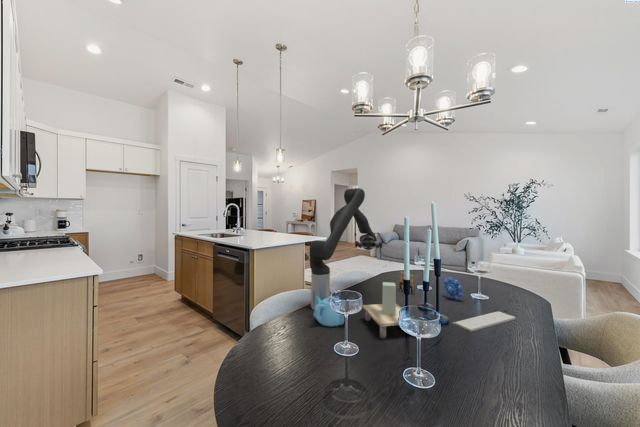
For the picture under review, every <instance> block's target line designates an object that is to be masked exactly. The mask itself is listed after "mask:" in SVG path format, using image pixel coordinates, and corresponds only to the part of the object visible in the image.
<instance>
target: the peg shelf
mask: <svg viewBox="0 0 640 427" xmlns="http://www.w3.org/2000/svg"><path fill="white" fill-rule="evenodd" d="M362 305H363V306H361V308H363V310H364V311H365V315H364V316H365V319H364V320H365V321H366V322H371V321H372V319H373V321H374V322H375V323H376V324H377V325H378V326H379V338H380V339H386V338H387V327H391V326H392V327H394V326H400V325H399V324H398V318H399V311H400V309H401V308H402V307H401V306H400V305H399V304H397V303H396V315H384V314H383V311H382V303H377V304H376V303H375V304H362Z"/></svg>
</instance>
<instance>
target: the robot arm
mask: <svg viewBox="0 0 640 427" xmlns="http://www.w3.org/2000/svg"><path fill="white" fill-rule="evenodd" d="M365 195H366V194H365V190H364V189H362V188H361V187H360V188H357V187H356V188H348V189H346V190H345V191H344V192H343V199H344V202H345V205H343V207H341V208H340V209H338V210H337V211H336V212H335V214H334V215H333V216H332V218H331V219H330V222H329V228H330V229H329V230H330V235H329V236H328V237H327V239H326V240H313V241H312V242H311V244H310V246H309V266H310V267H309V268H310V270H311V271H310V272H311V277H310V278H311V280H310V281H311V286H310V308H311V309H312V310H314V311H315V307H316V305H317V302H316V297H317V296H318V297H320V299H321V301H322V300H324V299H326V298H329V296H331V290H330V289H331V288H330V286H331V284H330V283H331V281H330V280H331V279H330V278H331V269H330V267H329V265H327V264H326V263H325V262H324V261H328V260H330V259H331V258H332V257H333V256H334V254H335V251H336V248H337V247H338V243H339V242H340V240H341V238H342V236H343V234H344V232H345V231H346V229H347V228H348V226H349V224H350V222H351V220H352V218H353V219H354V221H355V223H356V225H357V228H358V231H359V233H360V234H362V235H360V237H359V241H357V240H356V241H355V242H354V243H355V245H354V247H355V248H359V249H364V250H366V251H370V250H373V249H376V250H377V249H379V248H380V249H382V248H383V243H382V241H379V242H377V240H378V239H377V236H376V234H375V233H374V232H373V230H372V228H371V226H370V223H369V219H367V217H366V215H365V214H364V213H363V212H362V211H361V210H360V209H359V208H360V207H361V205H362V204H363V202H364V201H365V198H366V196H365Z"/></svg>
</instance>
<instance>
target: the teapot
mask: <svg viewBox="0 0 640 427" xmlns="http://www.w3.org/2000/svg"><path fill="white" fill-rule="evenodd" d="M331 296H332V295H330V296H329V298H326V299H324V300H322V301H321V299H320V297H318V296H317V297H316V302H317V305H316V307H315V309H314V311H313V317H314V318H315V319H316V320H317V322H318V323H319V324H320V325H322V326H325V327H329V328H331V327H332V328H333V327H334V326H335V327H340V326H342V325H344V324H345V323H344V315H342V314H338V313H336V312H334V311H333V310H332V309H331V306H330V299H331ZM339 325H340V326H339ZM335 327H334V328H335Z"/></svg>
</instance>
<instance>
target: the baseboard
mask: <svg viewBox="0 0 640 427" xmlns="http://www.w3.org/2000/svg"><path fill="white" fill-rule="evenodd" d="M493 310H494V312H490V313H486V314H482V315H481V314H480V315H478V316H474V317H469V318H466V319H462V320H457V321H455V322H454V321H453V322H452V324H453V325H455V326H458V327H459V328H462V329H463V330H464V329H465V330H466V331H468V332H474V331H475V332H476V331H477V330H480V329H484V328H489V327H492V326H496V325H500V324H503V323H507V322H510V321H513V320H516V319H517V318H516V316H517V315H516V314H514V315H512V314H509V313H508V311H507V310H503V311H502V312H501V310H498V311H497V309H493Z"/></svg>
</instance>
